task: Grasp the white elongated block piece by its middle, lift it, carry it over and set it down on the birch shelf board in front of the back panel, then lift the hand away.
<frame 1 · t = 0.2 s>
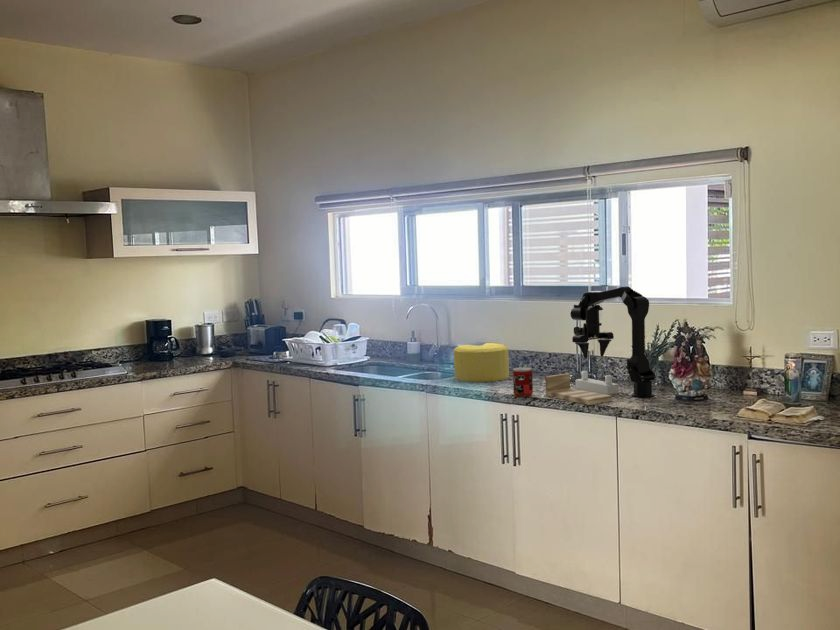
hand: (593, 357, 336), 13 cm above the counter, fingers open, 9 cm apart
shelf: (579, 398, 316), on the counter
cheese: (482, 377, 379), on the counter
white elongated block piece: (596, 391, 332), on the counter
canned food: (523, 395, 330), on the counter
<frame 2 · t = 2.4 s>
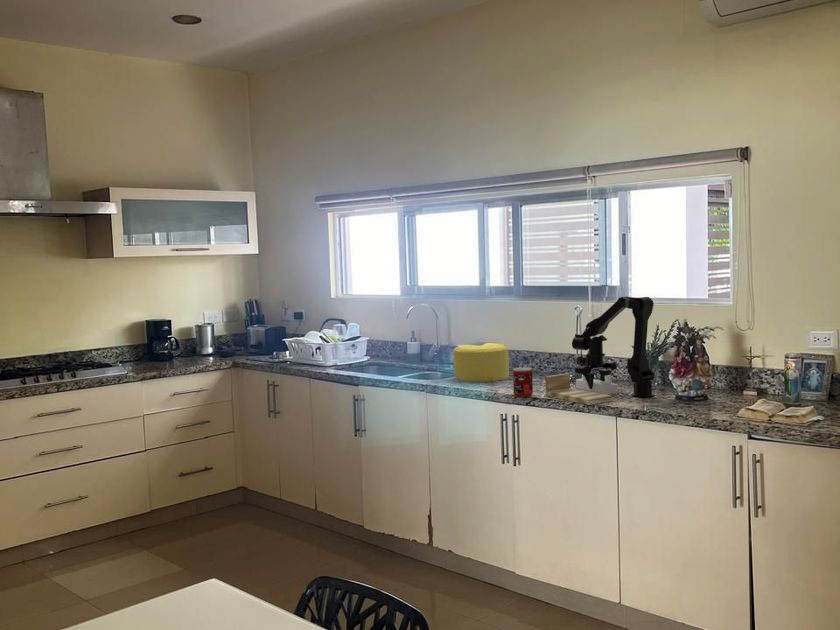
hand: (596, 388, 332), 1 cm above the counter, fingers closed on white elongated block piece, 6 cm apart
white elongated block piece: (596, 391, 332), on the counter, touching gripper
everything else where it was.
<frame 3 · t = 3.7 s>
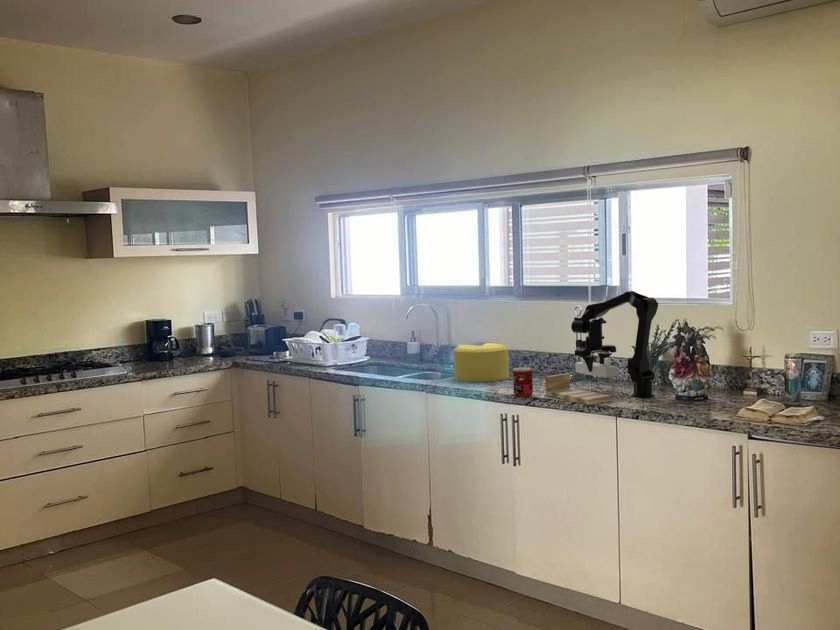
hand: (596, 370, 331), 8 cm above the counter, fingers closed on white elongated block piece, 6 cm apart
white elongated block piece: (596, 374, 332), point 7 cm above the counter, touching gripper
everything else where it was.
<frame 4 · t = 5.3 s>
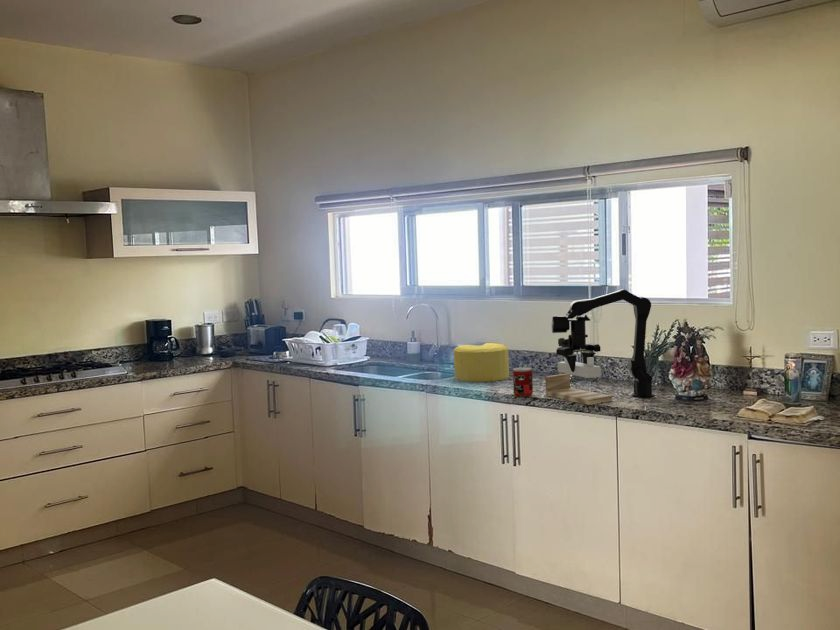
hand: (579, 370, 316), 11 cm above the counter, fingers closed on white elongated block piece, 6 cm apart
white elongated block piece: (579, 374, 316), point 10 cm above the counter, touching gripper
everything else where it was.
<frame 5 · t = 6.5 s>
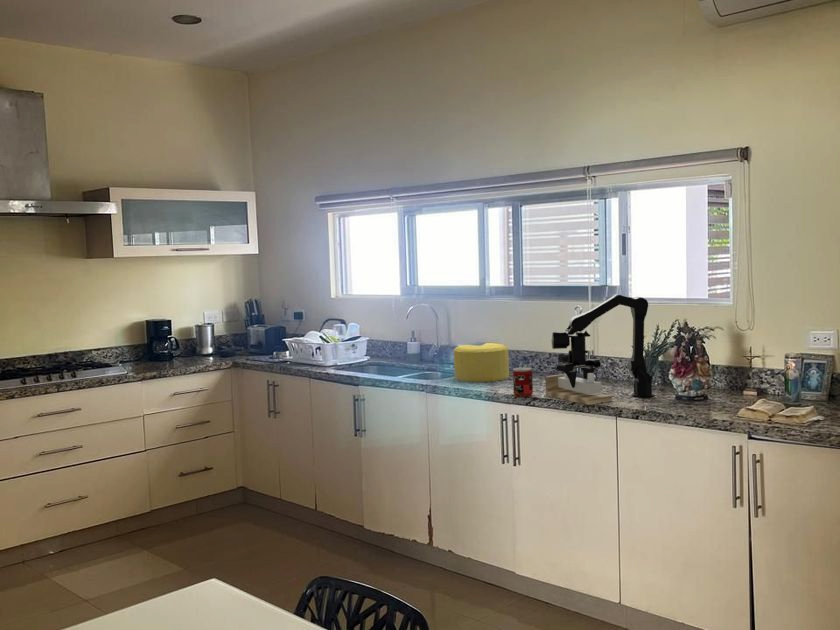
hand: (579, 386, 316), 5 cm above the counter, fingers closed on white elongated block piece, 6 cm apart
white elongated block piece: (579, 389, 316), point 4 cm above the counter, touching gripper
everything else where it was.
when the fingers open (4 cm above the counter, at t = 7.4 s): white elongated block piece drops 1 cm, resting on shelf.
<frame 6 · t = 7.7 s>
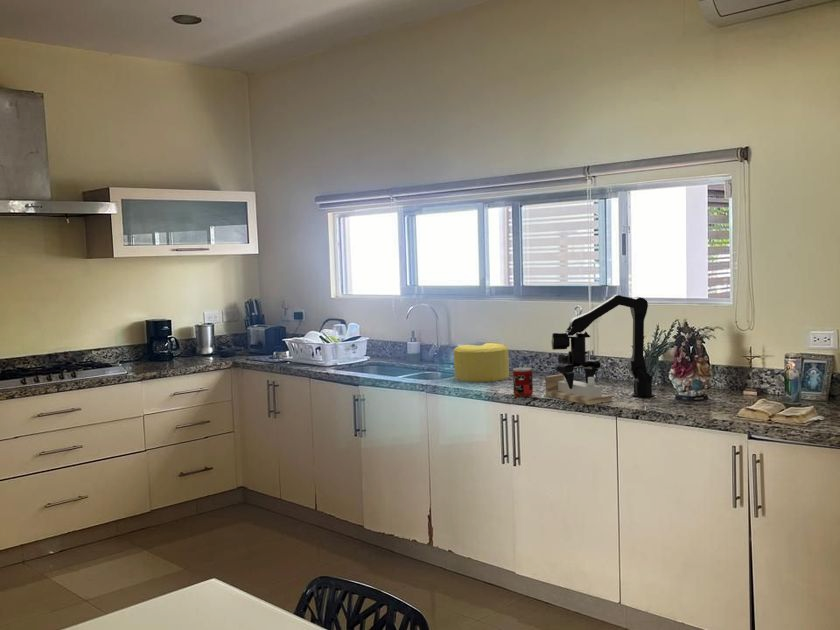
hand: (579, 387, 316), 4 cm above the counter, fingers open, 9 cm apart
white elongated block piece: (579, 393, 316), point 2 cm above the counter, touching shelf
everything else where it was.
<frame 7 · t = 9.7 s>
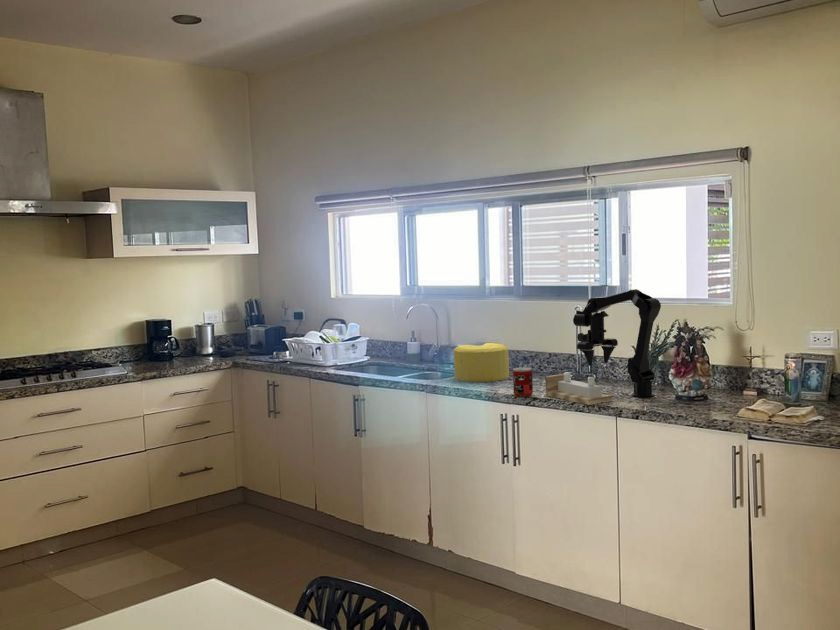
hand: (597, 364, 331), 11 cm above the counter, fingers open, 9 cm apart
nothing on the counter moved.
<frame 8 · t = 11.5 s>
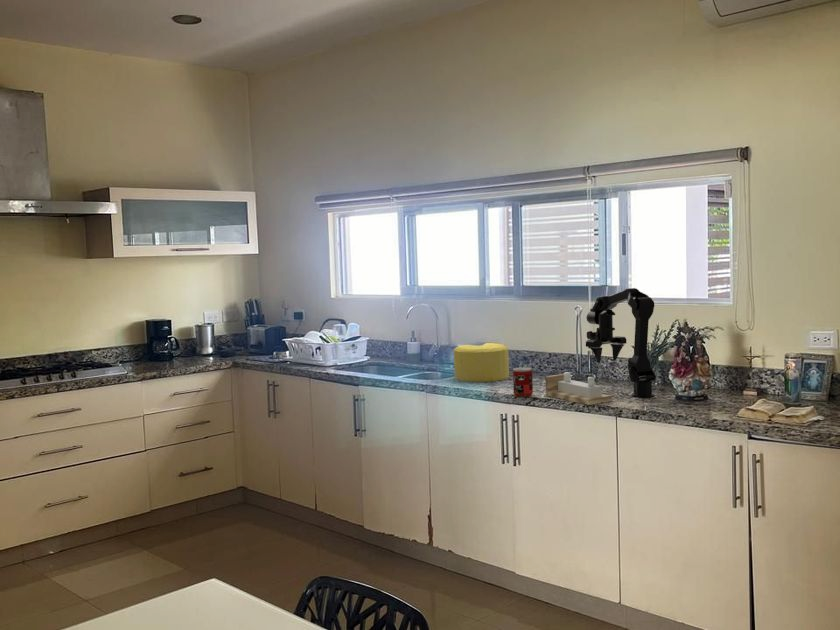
hand: (606, 361, 337), 11 cm above the counter, fingers open, 9 cm apart
nothing on the counter moved.
at the end: white elongated block piece inside the target area on the shelf (0.1 cm from its centre), point 2.0 cm above the shelf's base; white elongated block piece tilted 0°; the gripper is holding nothing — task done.
